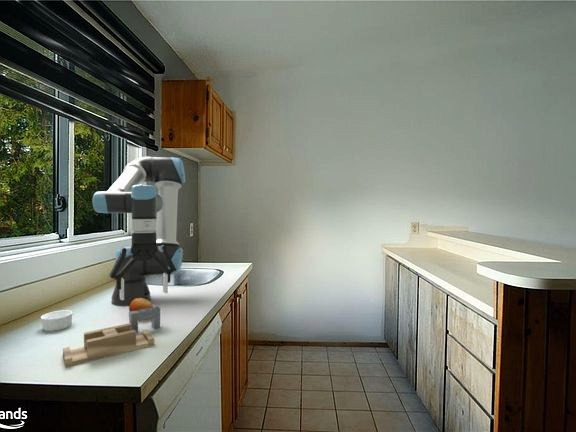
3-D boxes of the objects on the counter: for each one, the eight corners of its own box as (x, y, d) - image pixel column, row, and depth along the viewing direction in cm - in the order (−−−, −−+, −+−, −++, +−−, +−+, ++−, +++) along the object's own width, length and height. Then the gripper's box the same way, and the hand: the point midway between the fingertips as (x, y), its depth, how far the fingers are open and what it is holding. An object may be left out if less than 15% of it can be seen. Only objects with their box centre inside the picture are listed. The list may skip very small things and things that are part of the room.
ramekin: (52, 333, 105) (52, 320, 105) (34, 329, 108) (34, 316, 108) (79, 324, 113) (78, 311, 113) (61, 320, 116) (61, 308, 116)
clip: (129, 331, 107) (129, 311, 107) (157, 324, 113) (157, 306, 113) (131, 334, 105) (131, 314, 105) (160, 327, 111) (160, 308, 110)
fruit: (124, 311, 122) (136, 292, 123) (143, 320, 125) (155, 301, 126) (122, 318, 114) (135, 298, 116) (143, 327, 117) (156, 307, 119)
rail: (62, 355, 90) (62, 336, 90) (146, 335, 104) (146, 319, 104) (65, 367, 84) (64, 347, 84) (154, 344, 97) (154, 327, 97)
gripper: (103, 234, 97) (103, 305, 98) (185, 231, 112) (185, 292, 113) (99, 232, 103) (99, 299, 103) (177, 229, 118) (177, 287, 119)
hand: (144, 295), depth 108 cm, fingers open, 13 cm apart
